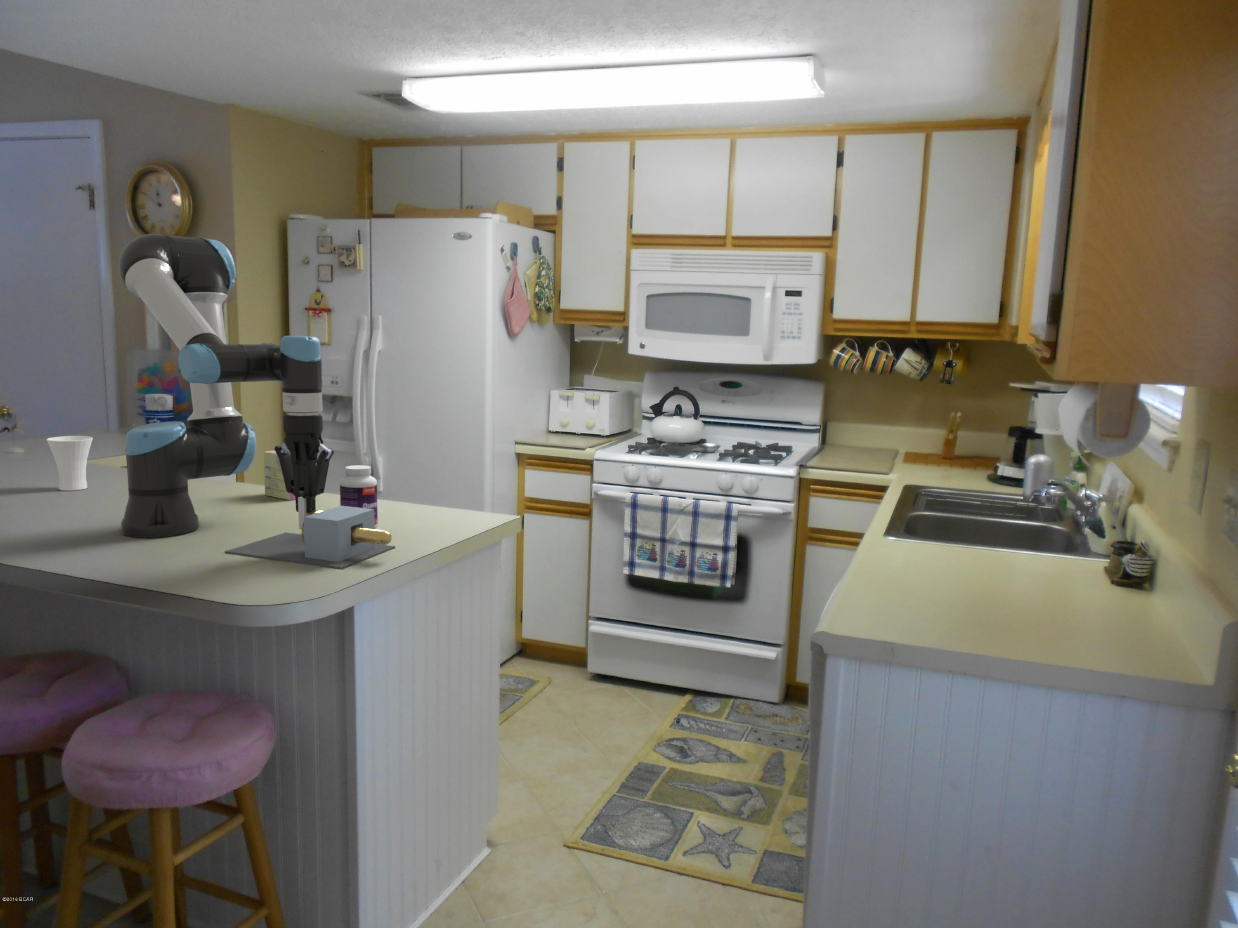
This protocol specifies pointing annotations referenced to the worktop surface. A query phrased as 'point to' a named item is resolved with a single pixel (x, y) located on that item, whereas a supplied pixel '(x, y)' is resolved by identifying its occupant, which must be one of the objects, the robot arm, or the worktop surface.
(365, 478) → the pill bottle
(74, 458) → the cup
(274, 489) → the box
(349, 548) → the block
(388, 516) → the worktop surface
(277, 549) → the mat
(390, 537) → the pin
